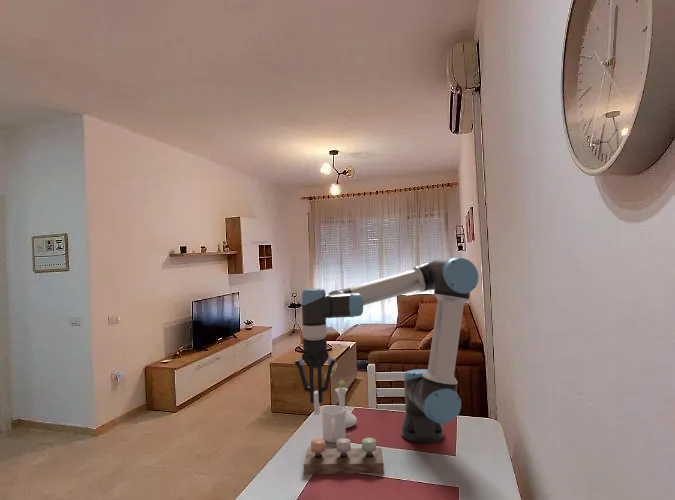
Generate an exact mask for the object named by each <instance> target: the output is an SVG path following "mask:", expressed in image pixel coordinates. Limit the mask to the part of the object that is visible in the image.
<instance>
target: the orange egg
mask: <svg viewBox="0 0 675 500" xmlns="http://www.w3.org/2000/svg"><path fill="white" fill-rule="evenodd" d="M310 449H311V451H312V452H315V453H316V456H321V452H323V451H325V449H326V441H325V440H324V438H314V439H312V440H311V441H310Z"/></svg>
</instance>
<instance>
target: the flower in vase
mask: <svg viewBox="0 0 675 500" xmlns="http://www.w3.org/2000/svg"><path fill="white" fill-rule="evenodd" d="M337 368H338V362H336V361H335V364H334V366H333V367H332V371H331V376H330V378H332V376H333V375H334V378H335V380H336V383H334V384H333V385H332V386H331V390H334V391H335V393H336V394H337V397H338V406H341V407H344V408H345V425H346V429H348V428H351V427H353V426H355V425H356V424H357V422H358V419H357V417H356V416H355V415H354V414H353V413H352V412H351V411H349V410H348V409H347V408H346V405H345V404H346V403H345V401H346V400H345V399H346V393H347V392H348V390H349V389H348V388H346V387H343V386H345V385H346V382H345V381H346V380H345V378H344V377H343V378H342V379H341V380H340V381H339V380H338V376H336V375H337V374H336V373H335V372H336V370H337ZM327 371H328V369H327ZM327 371H326V373H325V375H324V379H325V380H326V376H327Z"/></svg>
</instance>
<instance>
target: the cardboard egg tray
mask: <svg viewBox="0 0 675 500" xmlns="http://www.w3.org/2000/svg"><path fill="white" fill-rule="evenodd" d="M384 465H385V464H384V459H383V450H382V447H376V450H375V451H373V452H372V455H371V456H368V455H367V452H366V451H363V450H362V447H360V448H359V447H356V448H353V447H351V450H350V451H348V452H346V456H342V455H341V452H339V451H337V448H325V451H323V452H321V456H316V453H315V452H312V451H311V448H308V449H307V450H306V454H305V458H304V462H303V474H304V475H348V474H347V473H354V474H355V473H377V474H384V473H385V469H384ZM354 474H353V475H354ZM355 475H356V474H355Z"/></svg>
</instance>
